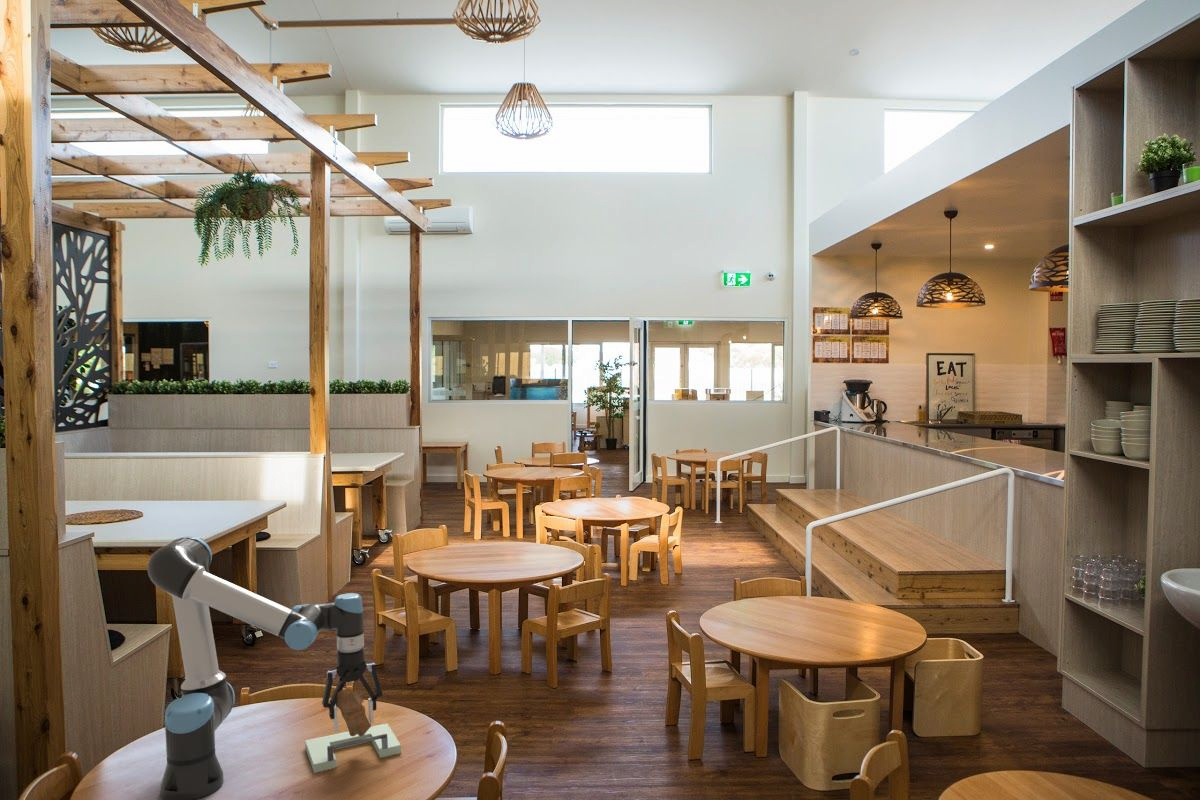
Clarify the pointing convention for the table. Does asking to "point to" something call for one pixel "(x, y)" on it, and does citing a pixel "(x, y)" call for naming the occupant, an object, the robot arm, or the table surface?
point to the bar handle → (330, 748)
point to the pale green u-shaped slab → (319, 746)
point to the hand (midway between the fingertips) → (353, 725)
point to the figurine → (353, 712)
